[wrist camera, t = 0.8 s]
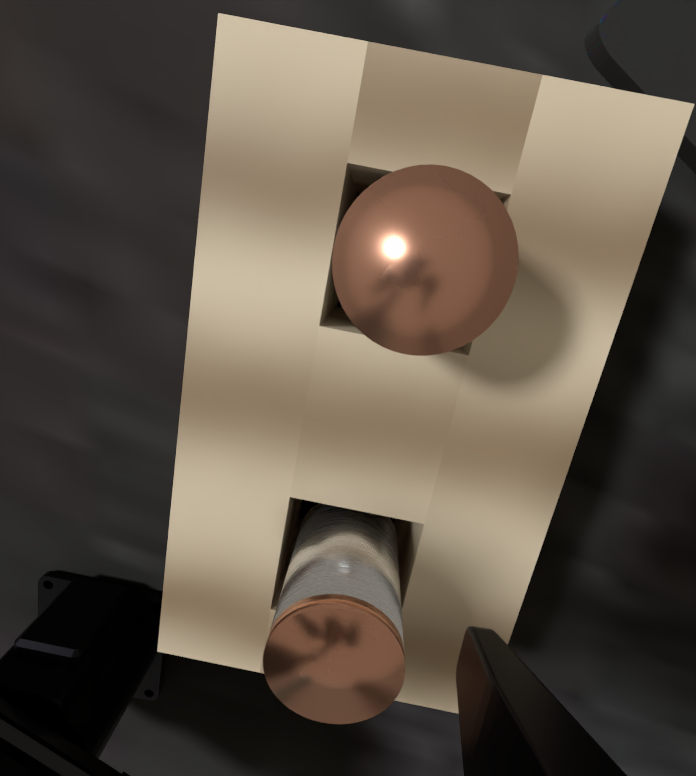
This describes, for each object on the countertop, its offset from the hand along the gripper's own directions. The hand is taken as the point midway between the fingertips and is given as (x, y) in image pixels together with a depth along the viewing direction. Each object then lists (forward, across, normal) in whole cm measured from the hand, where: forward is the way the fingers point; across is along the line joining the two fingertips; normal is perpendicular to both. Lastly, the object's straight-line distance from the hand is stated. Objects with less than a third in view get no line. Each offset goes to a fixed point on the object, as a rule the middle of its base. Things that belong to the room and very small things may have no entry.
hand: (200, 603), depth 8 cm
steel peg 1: (+9, -3, +4) cm, 10 cm away
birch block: (+13, -3, -1) cm, 13 cm away
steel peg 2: (+9, -3, -6) cm, 11 cm away
